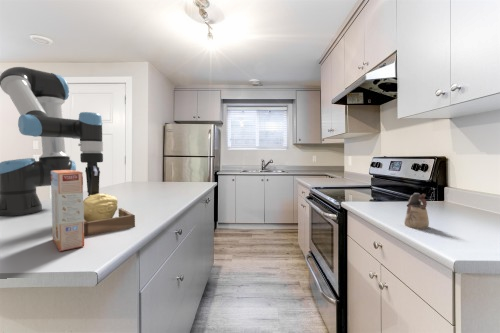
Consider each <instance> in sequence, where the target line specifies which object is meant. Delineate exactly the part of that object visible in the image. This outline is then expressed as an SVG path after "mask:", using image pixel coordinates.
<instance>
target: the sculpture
mask: <svg viewBox="0 0 500 333" xmlns="http://www.w3.org/2000/svg"><path fill="white" fill-rule="evenodd" d="M118 202H119V201H118V199H117V196H115V195H110V194H107V193H100V192H99V193H98V194H95V195H90V196H87V197H86V198H85V199H83V211H84V220H85V221H86V222H90V221H96V220H102V219H109V218H114V216H115V214H116V211H117V210H118Z"/></svg>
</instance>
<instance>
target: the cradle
mask: <svg viewBox="0 0 500 333" xmlns="http://www.w3.org/2000/svg"><path fill="white" fill-rule="evenodd" d="M134 227H136V216H135V214H133V213H131V212H129V211H127V210H126V209H124V208H121V207H120V208H118V216H115V217H112V218H109V219H102V220H96V221H90V222H86V221H85V220H84V237H87V236H93V235H98V234H104V233H107V232H109V233H110V232H113V231H119V230H123V229H130V228H134Z"/></svg>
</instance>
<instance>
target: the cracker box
mask: <svg viewBox="0 0 500 333" xmlns="http://www.w3.org/2000/svg"><path fill="white" fill-rule="evenodd" d="M83 173H84V172H82V171H78V170H76V171H75V170H54V171H51V186H50V189H51V190H50V191H51V220H52V221H51V225H52V227H51V228H52V230H51V233H52V240H53V242H54V244H55V246H56V247H57V250H58V251H59V252H64V251H68V250H73V249H79V248H83V247H85V236H84V211H83V201H84V179H83V178H84V174H83Z"/></svg>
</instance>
